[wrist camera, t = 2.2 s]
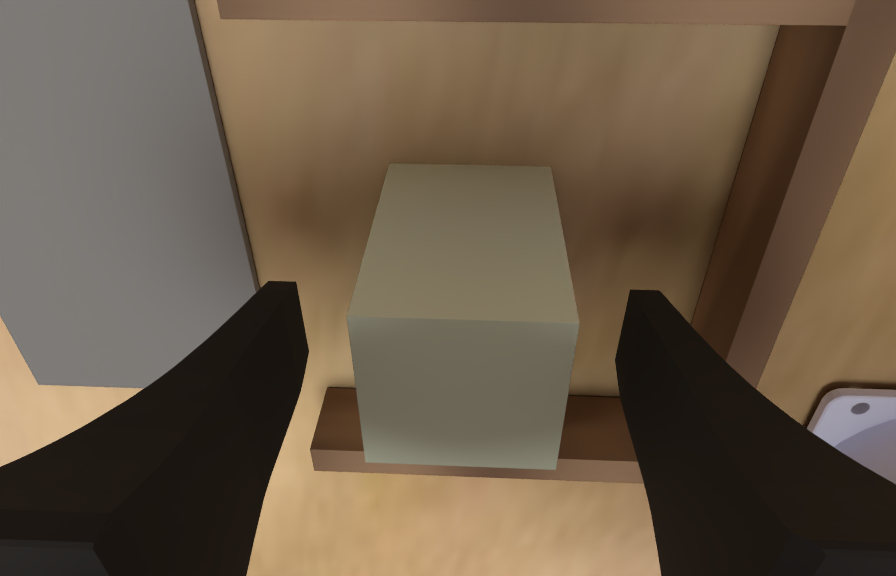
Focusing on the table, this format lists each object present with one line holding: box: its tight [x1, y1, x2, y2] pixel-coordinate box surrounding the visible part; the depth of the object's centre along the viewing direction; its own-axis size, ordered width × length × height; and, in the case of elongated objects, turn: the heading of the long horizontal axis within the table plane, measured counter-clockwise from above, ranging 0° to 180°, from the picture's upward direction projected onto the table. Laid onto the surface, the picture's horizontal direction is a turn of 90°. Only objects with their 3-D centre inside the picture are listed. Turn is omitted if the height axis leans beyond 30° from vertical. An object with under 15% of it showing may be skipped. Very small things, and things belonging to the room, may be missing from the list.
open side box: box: [217, 0, 896, 484], centre depth 16 cm, size 12×14×2 cm
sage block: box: [347, 163, 579, 470], centre depth 14 cm, size 4×4×6 cm
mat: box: [0, 0, 259, 388], centre depth 17 cm, size 8×12×1 cm, turn 0°
